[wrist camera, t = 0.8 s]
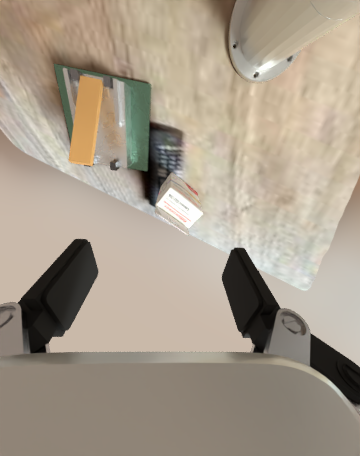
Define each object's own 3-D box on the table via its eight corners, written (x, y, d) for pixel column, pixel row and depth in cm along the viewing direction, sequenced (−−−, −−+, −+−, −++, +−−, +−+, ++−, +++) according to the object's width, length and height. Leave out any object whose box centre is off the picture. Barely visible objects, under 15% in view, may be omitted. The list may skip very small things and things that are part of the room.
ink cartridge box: (198, 191, 39) (207, 221, 27) (185, 205, 41) (189, 239, 29) (171, 170, 36) (169, 192, 24) (159, 186, 38) (151, 214, 26)
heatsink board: (57, 65, 26) (23, 48, 20) (151, 85, 28) (144, 74, 22) (76, 159, 34) (56, 165, 28) (148, 170, 36) (142, 178, 30)
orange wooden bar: (83, 80, 23) (80, 75, 22) (103, 84, 23) (101, 79, 23) (71, 162, 23) (68, 160, 22) (92, 166, 23) (90, 163, 22)
